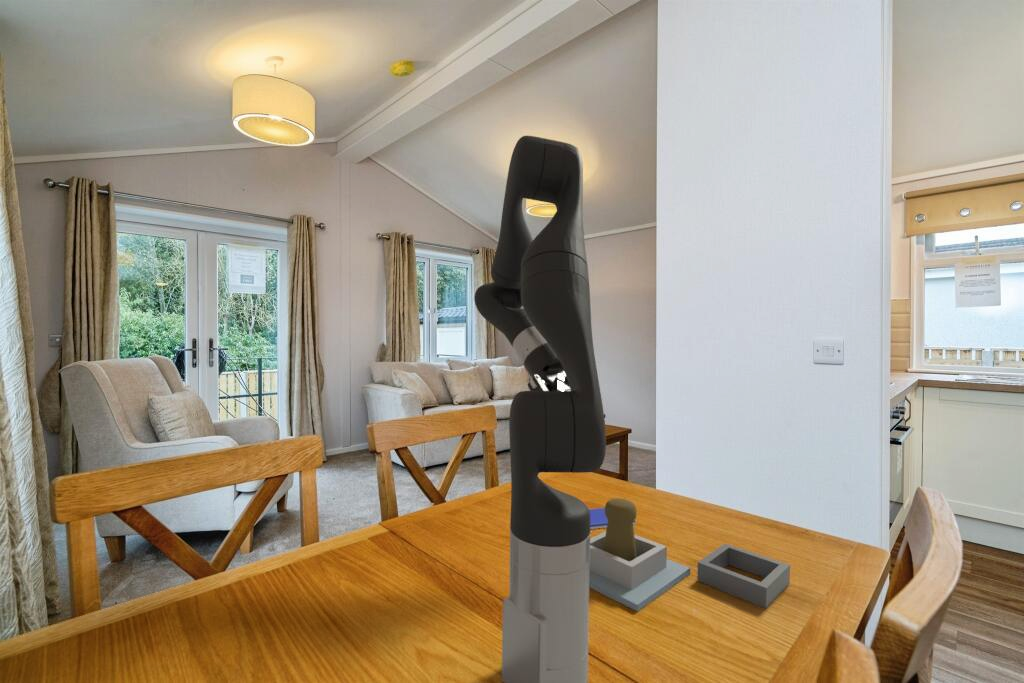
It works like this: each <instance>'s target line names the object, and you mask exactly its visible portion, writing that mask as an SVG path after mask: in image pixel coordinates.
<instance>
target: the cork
mask: <svg viewBox="0 0 1024 683" xmlns="http://www.w3.org/2000/svg"><path fill="white" fill-rule="evenodd" d="M604 508H605V515H606V517H607V519H608V523H607V528H605V529H606V530H605V531H606V536H605V543H604V549H603V551H605V552H608V553H610V554H613V555H615V556H617V557H620V558H622V559H625V560H627V561H629V562H630V561H632V560H633V559H635V558H637V555H636V546H635V537H634V535H635V531H634V530H635V529H634V528H635V527H634V525H633V521H634V520H635V521H636V518H637V507H636V505H635V503H634V502H633V501H631V500H630V499H626V498H620V497H619V498H618V497H616V498H611V499H609V500H607V501H606V503H605V506H604Z"/></svg>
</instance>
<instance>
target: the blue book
mask: <svg viewBox="0 0 1024 683" xmlns="http://www.w3.org/2000/svg"><path fill="white" fill-rule="evenodd" d="M588 509H589V508H588ZM589 512H590V530H597V529H598V528H600V529H607V523H608V519H607V517H606V515H605V507H602V508H601V507H599V508H590V509H589ZM633 526H636V519H635V520H634V521H633ZM598 530H599V529H598Z"/></svg>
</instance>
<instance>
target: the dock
mask: <svg viewBox="0 0 1024 683" xmlns="http://www.w3.org/2000/svg"><path fill="white" fill-rule="evenodd" d="M605 536H606V530H605V531H603V532H601V533H599V534H596V535H595V536H593V537H590V575H589V589H591V590H594V592H595V591H596V592H598V593H600V594H601V595H603V596H605V597H607V598H609V599H612V600H614V601H616V602H617V603H619V604H621V605H624V606H626V607H627V608H629V609H632V610H633V611H635V612H639V611H640V610H642V609H643V608H645V607H646V606H647V605H650V603H652V602H653V601H655V600H656V599H657V598H660V596H662V595H663V594H664V593H666V592H667V591H668V590H670V589H671V588H673V587H674V586H676V585H677V584H678V583H680V582H681V581H682V580H684V579H685V578H686V577H688V576H689V575H690V574H691V567H689V566H687V565H684V564H681V563H679V562H675V561H674V560H671V559H668V558H667V553H668V552H667V548H668V546H666V545H664V544H661V543H659V542H656V541H653V540H650V539H648V538H645V537H642V536H639V535H637V534H634V537H635V546H636V555H637V558H635V559H633V560H632V561H630V562H629V561H627V560H625V559H622V558H620V557H617V556H615V555H613V554H610V553H608V552H605V551H603V549H604V543H605ZM683 578H684V579H683Z"/></svg>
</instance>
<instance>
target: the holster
mask: <svg viewBox="0 0 1024 683" xmlns="http://www.w3.org/2000/svg"><path fill="white" fill-rule="evenodd" d="M728 566H731V567H733V568H737V569H739V570H742V571H745V572H747V573H751V574H753V575H756V576H759V577H761V578H764V579H762V580H761V581H760V580H756V579H754V578H751V577H749V576H746V575H744V574H740V573H738V572H735V571H732V570H730V569H726V568H727V567H728ZM790 576H791V564H789V563H785V562H782V561H779V560H777V559H774V558H771V557H768V556H764V555H761V554H758V553H756V552H752V551H749V550H746V549H743V548H741V547H737V546H735V545H732V544H728V543H723V544H722V545H720V546H719V547H717V548H715V549H714V551H711V552H710V553H709V554H707V555H706V556H705V557H703V558H701V559H700V560H699V561H698V562H697V580H698V581H697V580H696V581H697V582H700V583H702V584H705V585H707V586H710V587H713V588H715V589H717V590H720V591H722V592H724V593H727V594H730V595H732V596H735V597H737V598H740V599H742V600H745V601H746V602H749V603H752V604H754V605H757V606H759V607H762V608H764V609H767V608H768V607H769V606H770V605H771V604H772V603H773V602H774V601H775V600H776V599H777V598H778V596H780V594H781V593H782V592H783V591H784V590H785V589H786V588H787V587H788V586H789V585H790V582H791V581H790V580H791V577H790Z"/></svg>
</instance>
